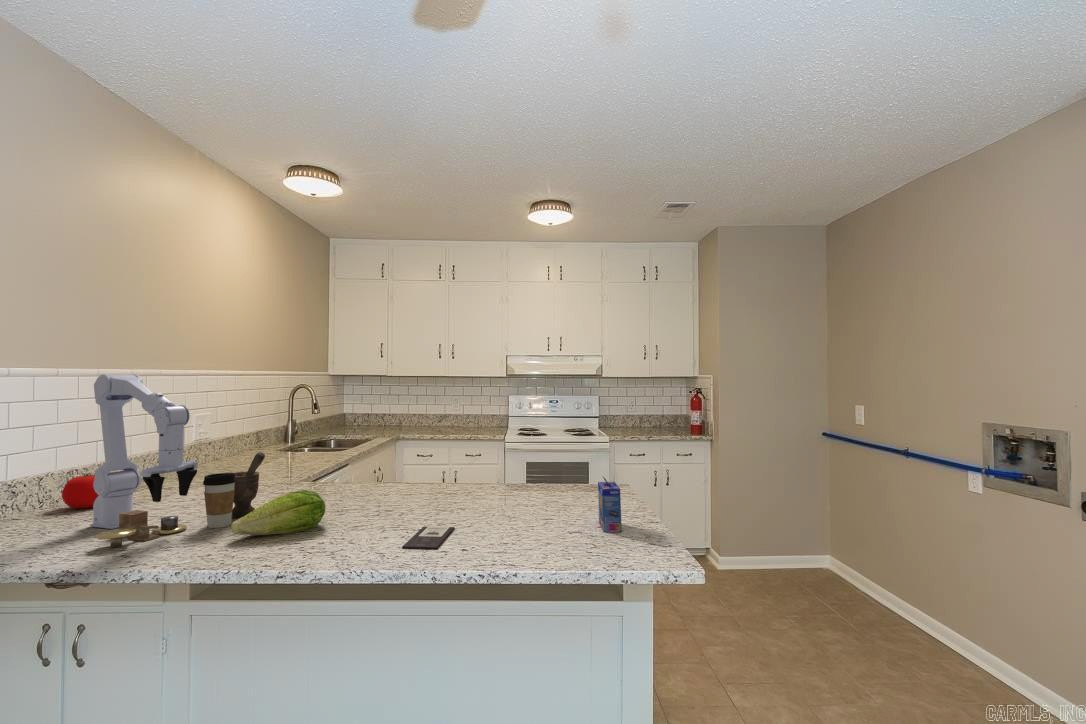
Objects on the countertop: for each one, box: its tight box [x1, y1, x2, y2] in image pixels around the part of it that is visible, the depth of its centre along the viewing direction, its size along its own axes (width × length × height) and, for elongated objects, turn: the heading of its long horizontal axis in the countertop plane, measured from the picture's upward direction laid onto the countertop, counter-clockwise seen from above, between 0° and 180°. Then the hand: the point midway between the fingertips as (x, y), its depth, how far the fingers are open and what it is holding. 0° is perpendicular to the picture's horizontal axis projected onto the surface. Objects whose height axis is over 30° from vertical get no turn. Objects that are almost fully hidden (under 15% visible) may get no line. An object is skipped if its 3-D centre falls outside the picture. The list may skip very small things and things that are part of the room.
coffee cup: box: [202, 472, 236, 529], centre depth 157 cm, size 8×8×15 cm
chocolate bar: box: [401, 526, 455, 551], centre depth 144 cm, size 9×1×18 cm
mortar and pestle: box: [232, 451, 266, 519], centre depth 168 cm, size 12×9×20 cm
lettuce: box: [230, 489, 326, 536], centre depth 150 cm, size 12×24×13 cm
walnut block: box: [118, 509, 149, 538], centre depth 148 cm, size 4×4×6 cm
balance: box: [95, 515, 187, 549], centre depth 144 cm, size 8×22×4 cm, turn 162°
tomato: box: [61, 473, 99, 510], centre depth 179 cm, size 12×13×11 cm
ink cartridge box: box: [597, 476, 623, 533], centre depth 154 cm, size 10×6×14 cm, turn 2°
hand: (170, 498), depth 149 cm, fingers open, 7 cm apart
